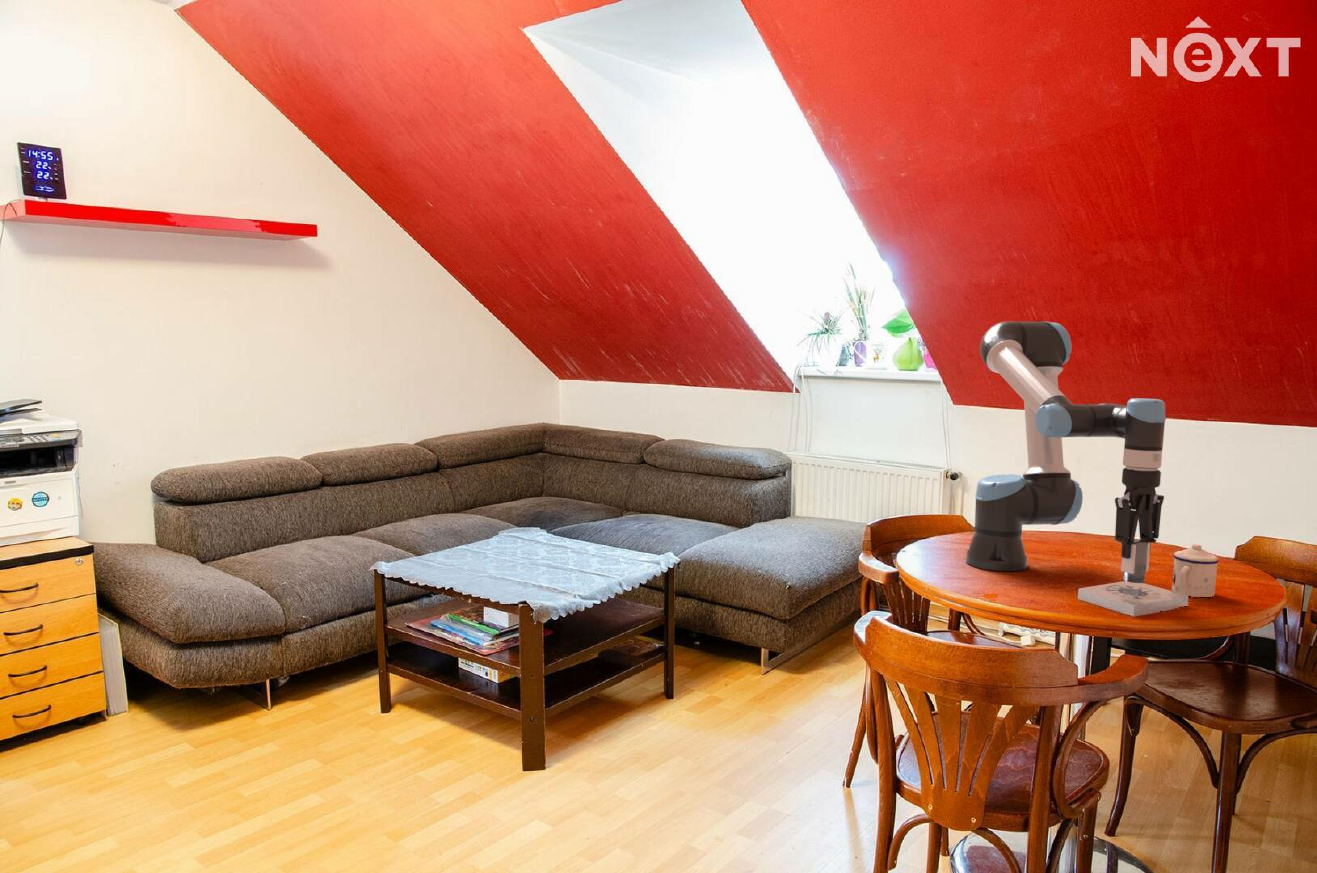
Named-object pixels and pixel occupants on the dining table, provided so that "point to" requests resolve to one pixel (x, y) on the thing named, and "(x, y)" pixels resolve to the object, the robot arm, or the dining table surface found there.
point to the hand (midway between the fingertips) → (1134, 570)
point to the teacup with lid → (1194, 572)
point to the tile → (1132, 598)
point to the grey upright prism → (1138, 563)
